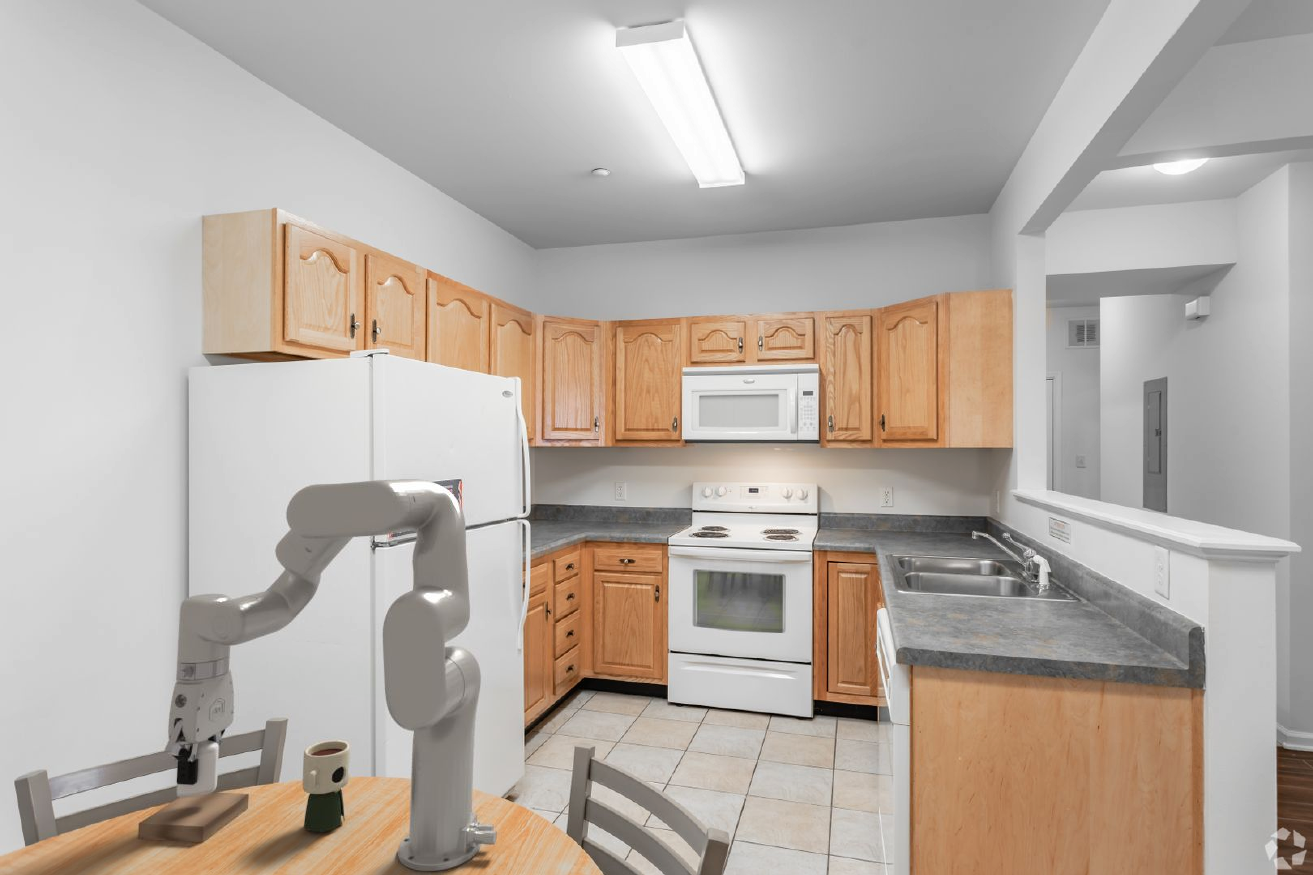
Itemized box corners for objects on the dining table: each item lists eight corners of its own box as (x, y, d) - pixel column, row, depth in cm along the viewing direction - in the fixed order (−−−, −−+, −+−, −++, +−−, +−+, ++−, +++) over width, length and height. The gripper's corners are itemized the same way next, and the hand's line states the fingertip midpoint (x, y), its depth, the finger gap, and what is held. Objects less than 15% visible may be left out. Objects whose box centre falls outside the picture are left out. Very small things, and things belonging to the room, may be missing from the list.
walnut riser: (248, 808, 120) (248, 793, 120) (202, 842, 109) (203, 826, 109) (188, 805, 120) (189, 790, 120) (137, 838, 109) (138, 823, 109)
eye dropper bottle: (201, 800, 112) (205, 726, 113) (171, 797, 113) (175, 724, 113) (221, 787, 117) (225, 717, 117) (191, 785, 117) (195, 715, 118)
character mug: (329, 844, 109) (333, 762, 109) (285, 843, 109) (289, 761, 109) (359, 810, 120) (362, 735, 120) (319, 809, 120) (322, 735, 120)
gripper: (187, 684, 107) (181, 802, 106) (256, 655, 124) (251, 757, 123) (142, 682, 108) (135, 800, 107) (216, 654, 124) (211, 755, 123)
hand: (197, 775), depth 115 cm, fingers closed on eye dropper bottle, 4 cm apart
